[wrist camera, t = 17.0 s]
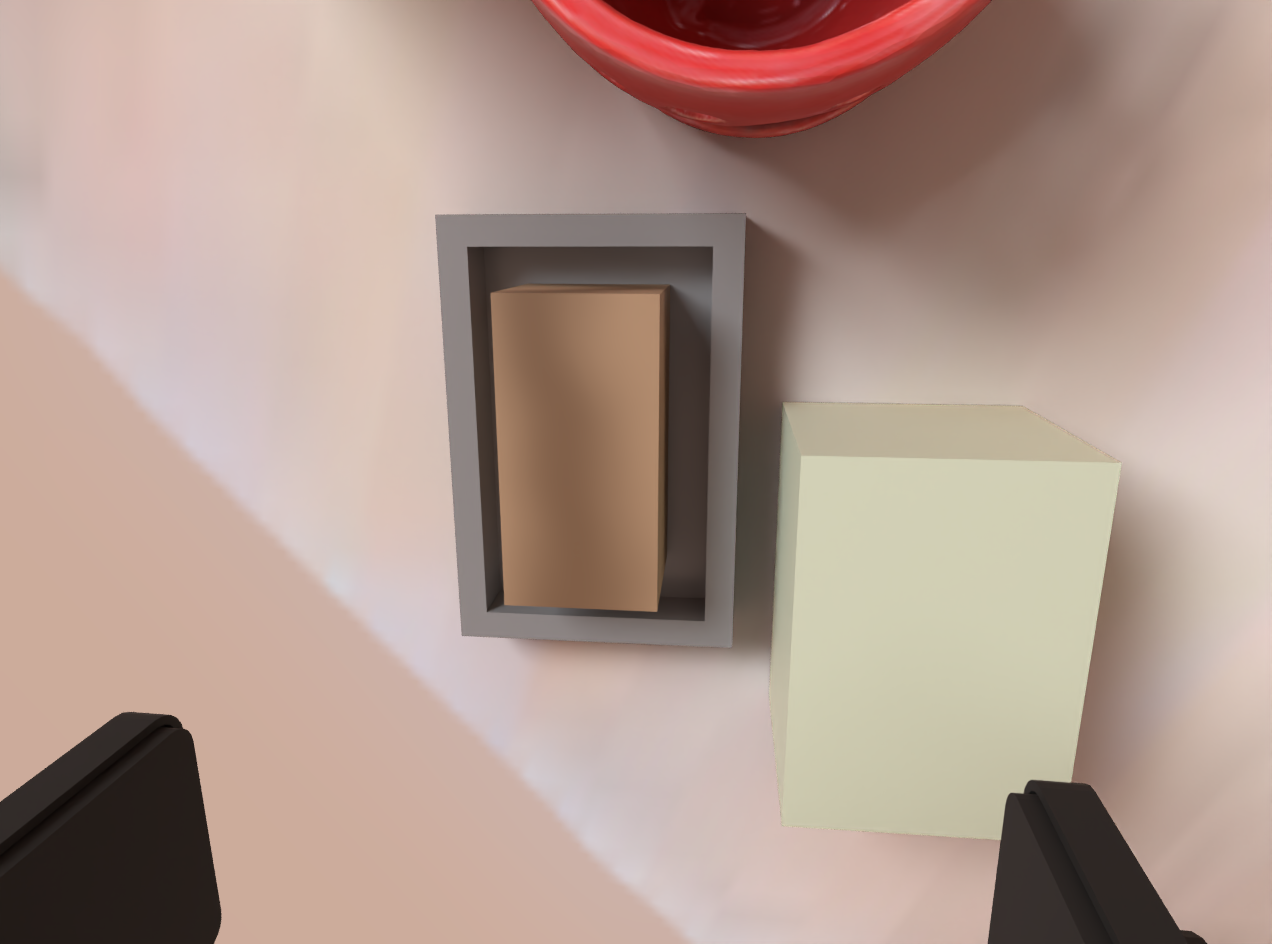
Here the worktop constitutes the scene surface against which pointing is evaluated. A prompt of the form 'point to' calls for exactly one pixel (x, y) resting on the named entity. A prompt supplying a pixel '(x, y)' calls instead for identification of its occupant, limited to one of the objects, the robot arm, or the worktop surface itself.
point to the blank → (582, 443)
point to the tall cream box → (931, 611)
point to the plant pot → (756, 54)
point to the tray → (698, 406)
